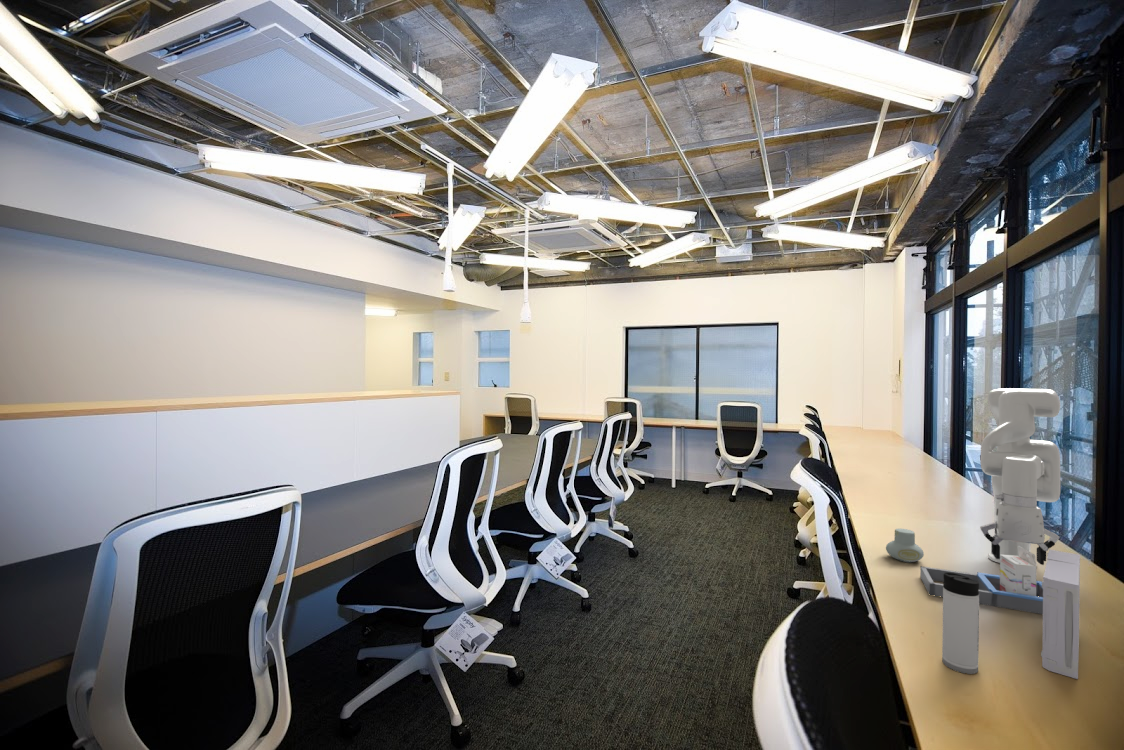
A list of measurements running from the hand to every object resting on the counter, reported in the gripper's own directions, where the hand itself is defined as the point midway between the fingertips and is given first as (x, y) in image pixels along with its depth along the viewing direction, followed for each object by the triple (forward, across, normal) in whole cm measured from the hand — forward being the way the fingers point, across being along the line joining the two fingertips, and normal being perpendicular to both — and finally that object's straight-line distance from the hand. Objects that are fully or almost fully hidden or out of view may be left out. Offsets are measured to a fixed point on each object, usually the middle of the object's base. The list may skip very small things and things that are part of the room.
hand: (1018, 560), depth 147 cm
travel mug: (+10, -23, -50) cm, 56 cm away
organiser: (+11, -7, -1) cm, 14 cm away
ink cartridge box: (+12, 0, -1) cm, 12 cm away
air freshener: (+12, -24, +24) cm, 36 cm away
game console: (+11, 0, -31) cm, 33 cm away
